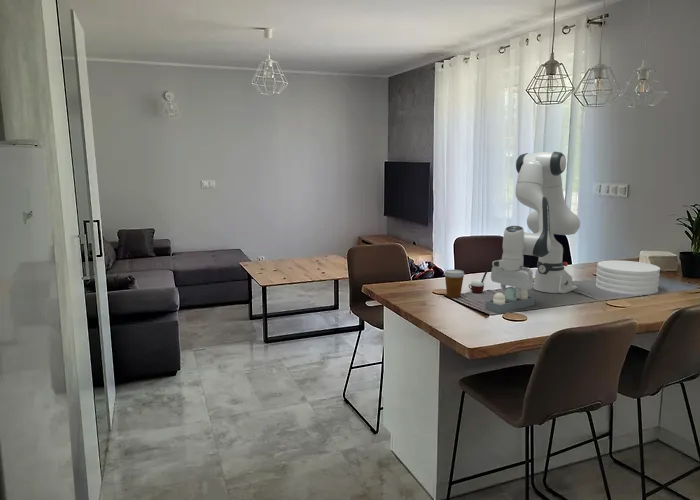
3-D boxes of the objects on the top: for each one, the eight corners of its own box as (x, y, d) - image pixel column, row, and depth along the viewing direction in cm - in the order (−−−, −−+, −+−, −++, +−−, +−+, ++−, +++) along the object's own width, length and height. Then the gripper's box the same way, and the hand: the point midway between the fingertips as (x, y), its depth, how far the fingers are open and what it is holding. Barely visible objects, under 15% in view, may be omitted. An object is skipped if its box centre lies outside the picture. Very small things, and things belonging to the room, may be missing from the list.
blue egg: (509, 301, 237) (510, 285, 236) (518, 304, 233) (519, 287, 232) (501, 303, 234) (502, 286, 233) (511, 306, 230) (511, 289, 229)
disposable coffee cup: (448, 299, 250) (449, 274, 248) (440, 294, 260) (440, 270, 257) (467, 297, 253) (468, 272, 251) (458, 293, 262) (459, 268, 260)
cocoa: (466, 291, 266) (466, 268, 264) (476, 289, 269) (475, 266, 267) (480, 295, 258) (479, 270, 256) (490, 293, 261) (489, 268, 259)
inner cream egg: (520, 302, 241) (521, 286, 240) (529, 305, 237) (530, 288, 236) (512, 304, 238) (513, 287, 237) (522, 306, 234) (523, 290, 233)
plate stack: (643, 282, 284) (645, 260, 282) (668, 295, 257) (671, 272, 255) (588, 281, 287) (589, 259, 285) (607, 294, 260) (609, 271, 258)
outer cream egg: (498, 307, 233) (499, 290, 232) (507, 310, 229) (508, 293, 228) (490, 309, 231) (491, 292, 229) (499, 312, 226) (500, 294, 225)
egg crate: (519, 303, 243) (520, 293, 242) (534, 307, 237) (534, 297, 236) (485, 311, 231) (485, 301, 230) (499, 315, 225) (500, 305, 224)
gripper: (537, 267, 224) (535, 299, 226) (499, 259, 241) (497, 289, 243) (527, 269, 220) (525, 302, 223) (489, 261, 237) (488, 291, 240)
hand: (510, 295), depth 233 cm, fingers closed on blue egg, 5 cm apart
